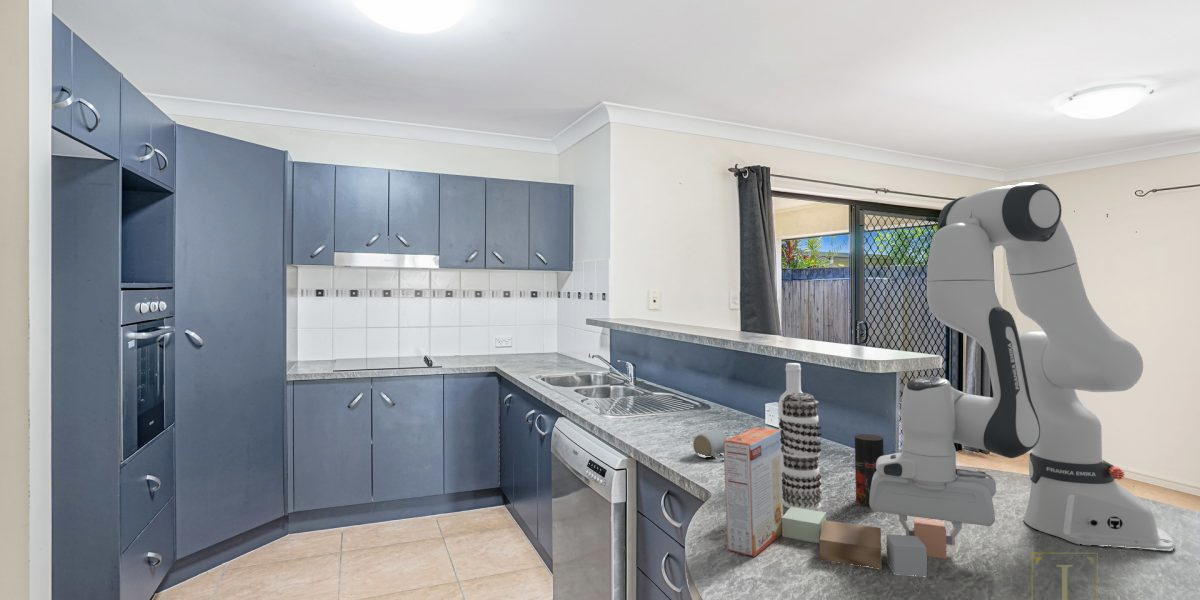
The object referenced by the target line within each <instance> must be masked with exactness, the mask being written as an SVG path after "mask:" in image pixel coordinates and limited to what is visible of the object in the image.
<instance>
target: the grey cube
mask: <svg viewBox="0 0 1200 600" xmlns="http://www.w3.org/2000/svg"><path fill="white" fill-rule="evenodd" d="M885 538H886V563H887V562H888V563H887V565H888V564H889V565H890V566H889V565H888V566H889V567H891V568H890V570H891V571H892V570H893V571H892V573H893V572H894V573H895V574H900V575H899V576H904V575H914V576H913V577H918V576H926V577H925V578H927V577H928V566H927V565H928V562H927V561H928V557H927V549H926V547H925V545H924V544H923V543H922V542H921V540H920V539H919V538H918V537H917V536H907V535H906V534H905V535H903V534H890V533H889V534H888V533H887V534H886V537H885ZM894 573H893V574H894ZM895 574H894V575H895ZM915 575H916V576H915Z"/></svg>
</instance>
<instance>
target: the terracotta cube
mask: <svg viewBox="0 0 1200 600" xmlns="http://www.w3.org/2000/svg"><path fill="white" fill-rule="evenodd" d="M913 528H914V532H915V535H914V536H917V537H918V538H919V539H920V540H921V542H922V543H923V544H924V545H925V547H926V549H927V556H928V557H933V558H939V557H940V558H941V559H945V558H947V557H948V555H947V552H948V551H947V545H946V532H947V529H946V523H945V520H937V519H929V518H921V517H913Z"/></svg>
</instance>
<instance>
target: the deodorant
mask: <svg viewBox="0 0 1200 600" xmlns="http://www.w3.org/2000/svg"><path fill="white" fill-rule="evenodd" d="M884 447H885V446H884V437H883V436H880V435H875V434H867V433H866V434H865V433H864V434H863V433H862V434H861V433H860V434H859V433H858V434H856V435H854V460H855V461H854V464H855V465H854V468H855V469H854V470H855V473H854V474H855V478H854V479H855V502H856V504H857V505H859V506H862V507H864V508H865V507H866V508H871V507H870V506H869V499H870V489H871V483H872V478H873V475H874V473H875V472H876V471H877V470H876V461H877V459H878V458H879V457H880V456H884V455H885V454H884V453H885V451H884Z"/></svg>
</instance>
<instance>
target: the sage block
mask: <svg viewBox="0 0 1200 600" xmlns="http://www.w3.org/2000/svg"><path fill="white" fill-rule="evenodd" d="M824 520H825V521H827V512H826V511H820V510H808V509H802V508H796V507H790V508H788V509H787V511H786V512H785V513H783V517H782V534H781V537H782V538H788V539H795V540H798V541H804V542H809V543H815V544H820V543H819V539H820V535H821V531H822V527H823V523H824Z"/></svg>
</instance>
